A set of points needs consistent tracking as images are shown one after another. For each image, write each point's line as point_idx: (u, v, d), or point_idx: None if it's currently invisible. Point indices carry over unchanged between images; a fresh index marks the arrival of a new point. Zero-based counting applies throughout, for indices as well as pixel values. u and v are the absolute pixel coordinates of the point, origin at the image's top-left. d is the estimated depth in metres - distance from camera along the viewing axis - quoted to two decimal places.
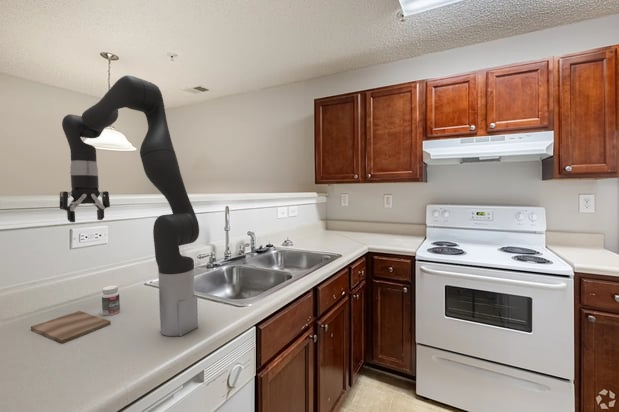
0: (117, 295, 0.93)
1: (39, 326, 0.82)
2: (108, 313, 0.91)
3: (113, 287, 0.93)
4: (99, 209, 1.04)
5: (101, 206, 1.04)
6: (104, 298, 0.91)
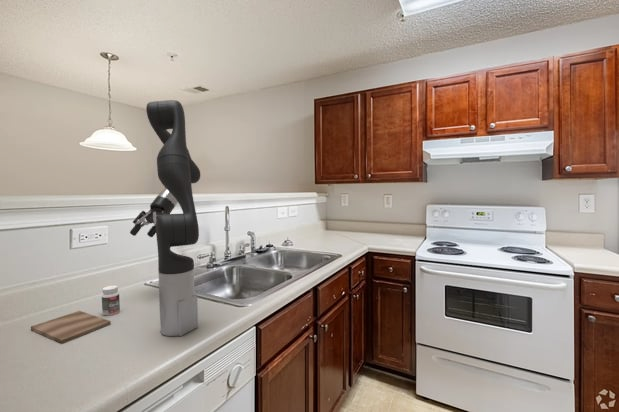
0: (117, 295, 0.93)
1: (39, 326, 0.82)
2: (108, 313, 0.91)
3: (113, 287, 0.93)
4: None
5: (155, 222, 1.04)
6: (104, 298, 0.91)
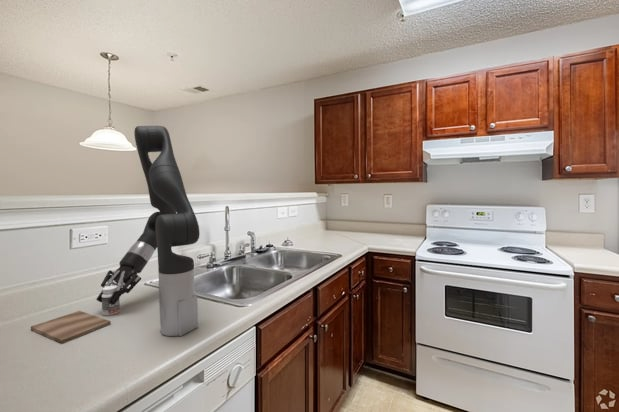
0: None
1: (39, 326, 0.82)
2: (108, 313, 0.91)
3: (113, 287, 0.93)
4: None
5: (117, 287, 0.93)
6: (103, 298, 0.91)
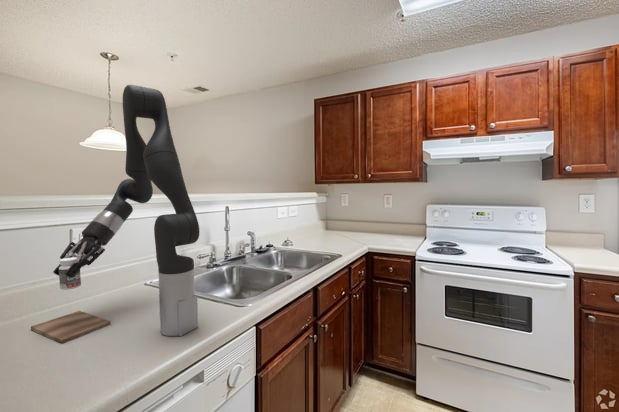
0: None
1: (39, 326, 0.82)
2: (66, 287, 0.81)
3: (72, 258, 0.83)
4: None
5: (77, 258, 0.83)
6: (60, 270, 0.81)
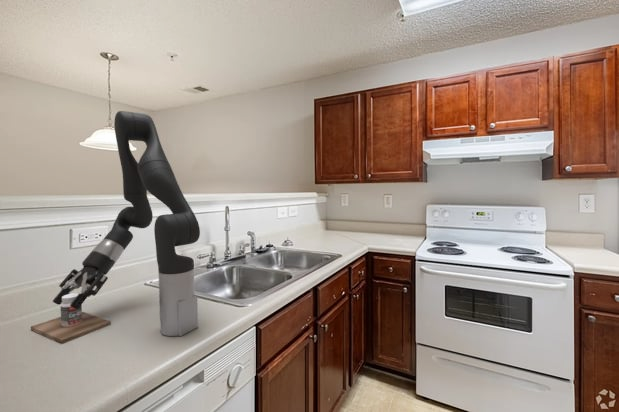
0: None
1: (39, 326, 0.82)
2: (67, 324, 0.82)
3: (74, 295, 0.84)
4: None
5: (82, 289, 0.83)
6: (62, 307, 0.81)
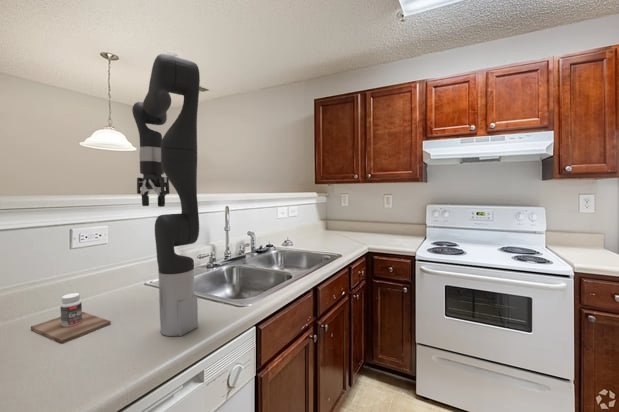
0: (78, 304, 0.83)
1: (39, 326, 0.82)
2: (67, 324, 0.82)
3: (74, 295, 0.84)
4: None
5: (157, 192, 1.00)
6: (62, 307, 0.81)
